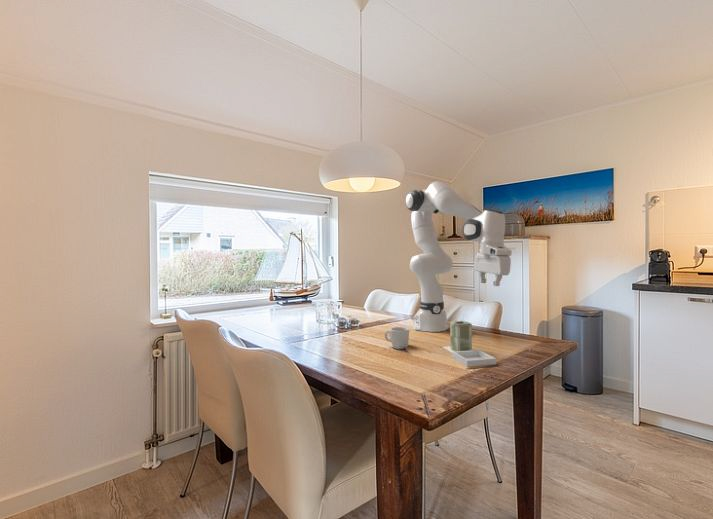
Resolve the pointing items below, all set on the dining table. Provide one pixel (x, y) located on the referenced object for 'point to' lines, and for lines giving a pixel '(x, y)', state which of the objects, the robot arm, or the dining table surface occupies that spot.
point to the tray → (474, 358)
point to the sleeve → (460, 336)
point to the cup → (398, 337)
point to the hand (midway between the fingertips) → (489, 284)
